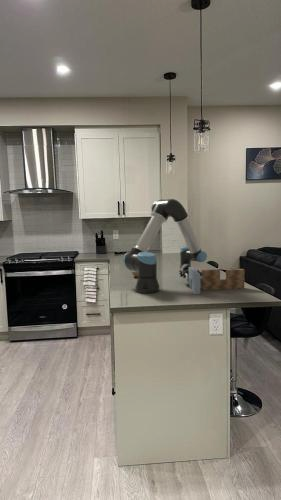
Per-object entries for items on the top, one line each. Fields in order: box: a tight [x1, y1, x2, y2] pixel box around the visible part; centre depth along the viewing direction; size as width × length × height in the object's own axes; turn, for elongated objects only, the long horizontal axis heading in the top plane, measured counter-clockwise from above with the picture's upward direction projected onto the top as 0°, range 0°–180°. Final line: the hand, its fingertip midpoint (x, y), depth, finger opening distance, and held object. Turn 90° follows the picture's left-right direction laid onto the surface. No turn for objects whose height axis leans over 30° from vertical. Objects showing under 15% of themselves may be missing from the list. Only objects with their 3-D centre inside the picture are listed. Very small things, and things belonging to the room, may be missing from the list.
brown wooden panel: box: [201, 268, 245, 291], centre depth 194 cm, size 26×3×12 cm, turn 90°
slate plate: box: [188, 266, 201, 295], centre depth 194 cm, size 24×3×12 cm, turn 0°
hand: (193, 277), depth 197 cm, fingers open, 7 cm apart
